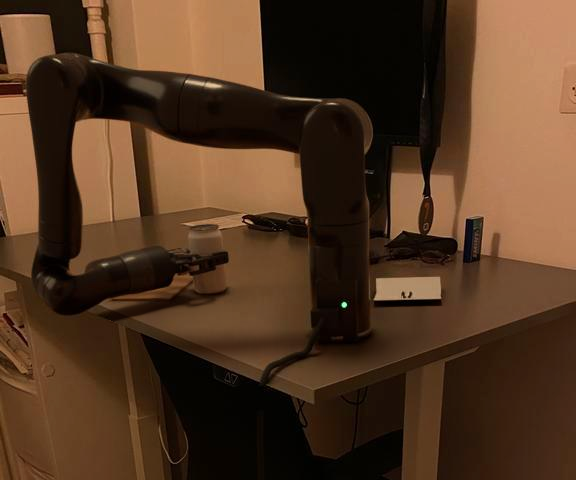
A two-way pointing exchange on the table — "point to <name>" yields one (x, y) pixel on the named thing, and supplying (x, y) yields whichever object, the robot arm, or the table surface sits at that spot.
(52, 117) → the robot arm
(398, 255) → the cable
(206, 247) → the can
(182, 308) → the table surface
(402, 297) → the folded paper
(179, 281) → the placemat
